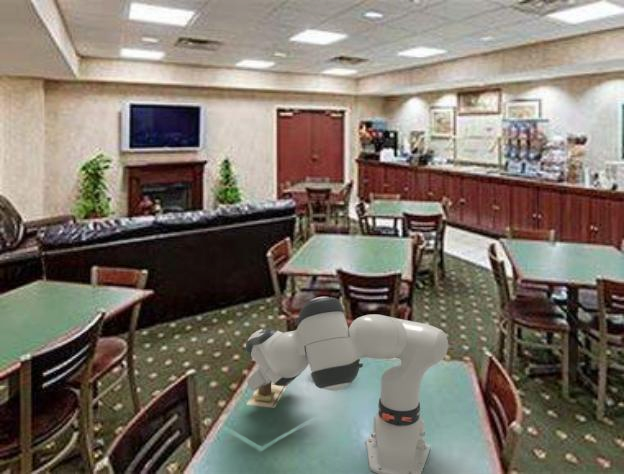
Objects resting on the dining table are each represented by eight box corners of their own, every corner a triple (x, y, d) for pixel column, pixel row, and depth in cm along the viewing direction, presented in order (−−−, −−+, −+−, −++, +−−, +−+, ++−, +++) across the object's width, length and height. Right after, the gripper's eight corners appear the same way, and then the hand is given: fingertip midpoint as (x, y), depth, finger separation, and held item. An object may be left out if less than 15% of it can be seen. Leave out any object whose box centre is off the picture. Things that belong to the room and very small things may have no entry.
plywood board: (274, 412, 174) (274, 408, 173) (245, 408, 176) (245, 404, 175) (290, 382, 195) (290, 379, 195) (265, 380, 197) (265, 376, 197)
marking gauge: (275, 393, 182) (275, 369, 180) (270, 401, 176) (270, 376, 175) (259, 392, 183) (259, 367, 181) (254, 399, 178) (254, 374, 176)
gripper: (300, 347, 180) (280, 365, 188) (256, 365, 165) (236, 384, 173) (310, 363, 178) (289, 381, 186) (266, 383, 163) (245, 401, 171)
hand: (263, 383), depth 179 cm, fingers closed on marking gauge, 3 cm apart
